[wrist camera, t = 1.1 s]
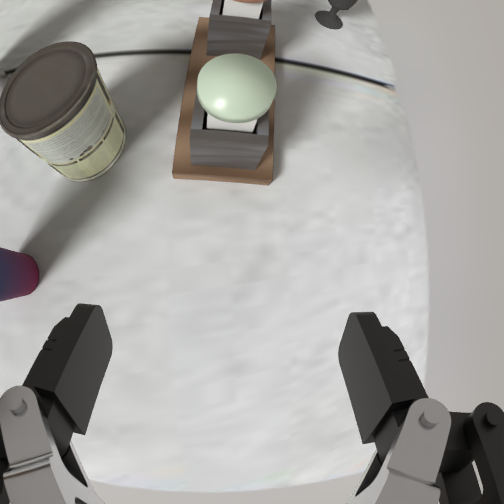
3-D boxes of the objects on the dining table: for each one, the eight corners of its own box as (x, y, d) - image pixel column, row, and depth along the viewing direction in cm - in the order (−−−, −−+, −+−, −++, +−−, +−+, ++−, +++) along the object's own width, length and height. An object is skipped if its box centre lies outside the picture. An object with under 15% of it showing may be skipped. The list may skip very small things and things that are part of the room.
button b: (263, 39, 31) (277, -3, 24) (210, 34, 30) (215, -10, 23) (264, 9, 31) (276, -30, 24) (216, 4, 30) (221, -37, 23)
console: (268, 185, 36) (289, 157, 27) (173, 178, 34) (165, 147, 25) (272, 33, 38) (286, -8, 29) (198, 26, 36) (201, -17, 27)
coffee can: (40, 169, 31) (-20, 125, 17) (77, 101, 33) (39, 37, 19) (103, 194, 33) (52, 149, 19) (140, 119, 34) (117, 47, 20)
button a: (258, 154, 30) (276, 119, 22) (193, 148, 29) (192, 111, 21) (260, 100, 30) (277, 58, 23) (200, 95, 29) (202, 50, 22)
